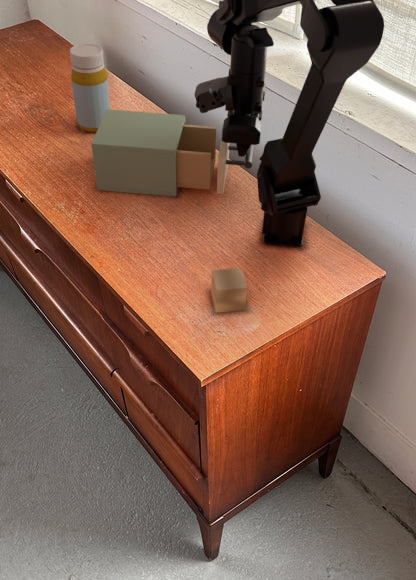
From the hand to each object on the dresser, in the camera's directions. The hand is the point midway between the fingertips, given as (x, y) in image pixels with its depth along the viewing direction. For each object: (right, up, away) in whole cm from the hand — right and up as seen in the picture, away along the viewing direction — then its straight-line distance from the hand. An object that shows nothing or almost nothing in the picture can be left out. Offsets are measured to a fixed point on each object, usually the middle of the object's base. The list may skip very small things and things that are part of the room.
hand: (241, 155), depth 113 cm
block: (-3, -28, -18) cm, 33 cm away
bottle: (-30, +12, +17) cm, 36 cm away
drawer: (-7, -2, +4) cm, 8 cm away
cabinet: (-18, -2, +5) cm, 19 cm away
